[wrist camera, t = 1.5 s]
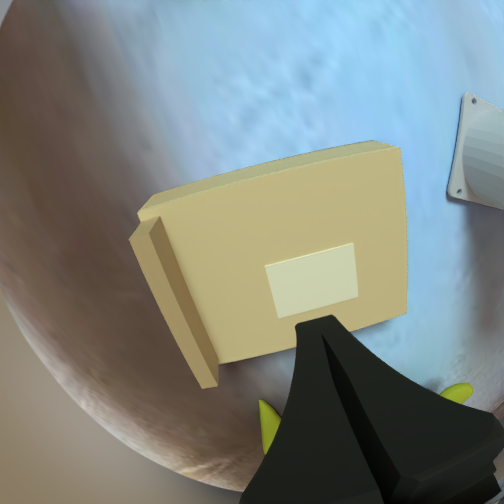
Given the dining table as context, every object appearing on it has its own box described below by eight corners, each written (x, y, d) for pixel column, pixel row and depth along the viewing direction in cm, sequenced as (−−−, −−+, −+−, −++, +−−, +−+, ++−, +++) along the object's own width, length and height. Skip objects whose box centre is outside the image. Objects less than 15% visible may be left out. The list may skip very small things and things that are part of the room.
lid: (395, 146, 15) (424, 154, 12) (403, 309, 20) (422, 334, 17) (139, 209, 16) (122, 229, 13) (205, 361, 20) (203, 393, 18)
